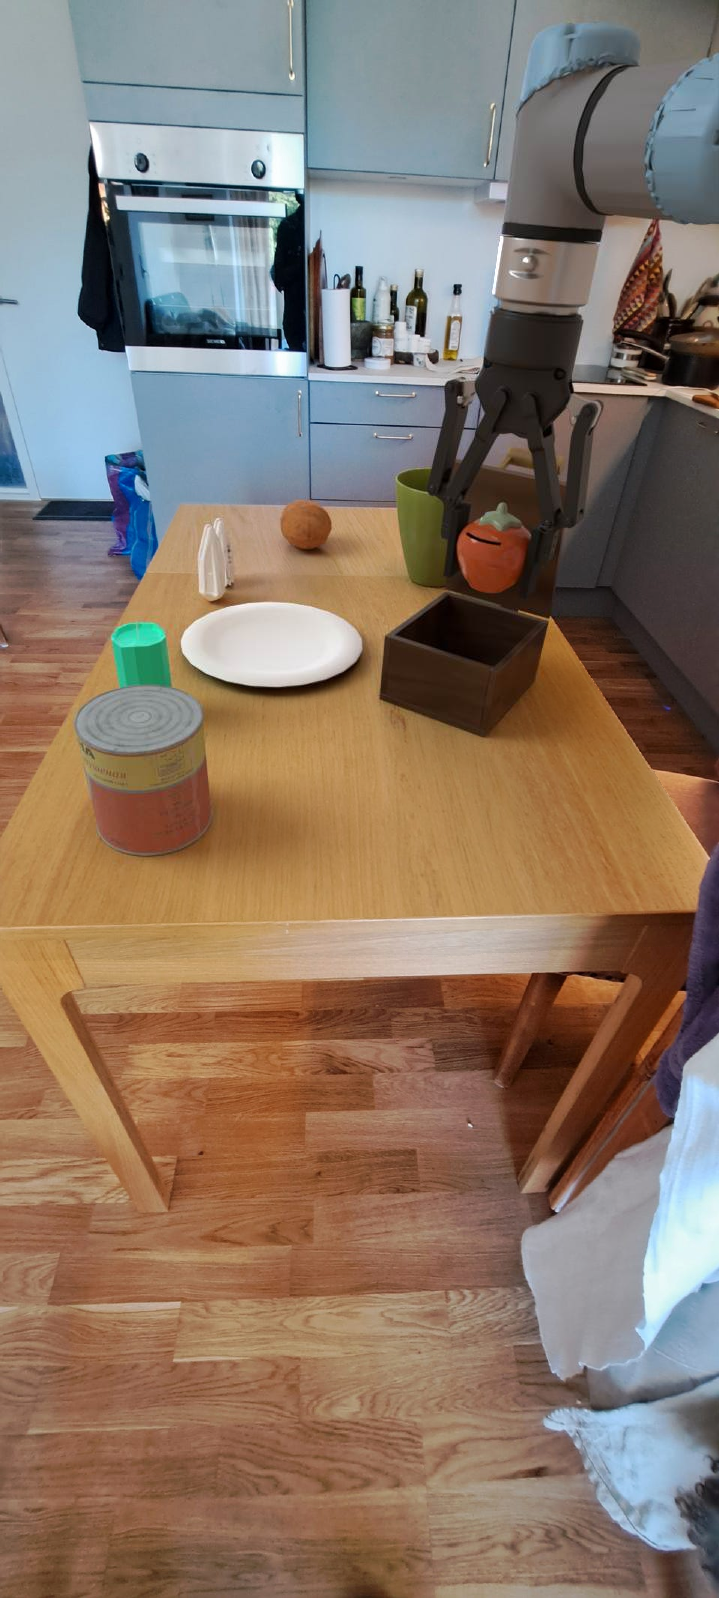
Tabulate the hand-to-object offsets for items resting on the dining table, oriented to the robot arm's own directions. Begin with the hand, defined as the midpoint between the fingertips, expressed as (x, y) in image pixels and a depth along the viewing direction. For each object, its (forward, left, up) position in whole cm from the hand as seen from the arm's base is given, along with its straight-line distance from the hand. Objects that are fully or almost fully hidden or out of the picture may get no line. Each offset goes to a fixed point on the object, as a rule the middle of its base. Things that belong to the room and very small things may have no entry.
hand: (488, 582), depth 73 cm
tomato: (0, 0, 0) cm, 0 cm away
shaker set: (+51, -17, -21) cm, 57 cm away
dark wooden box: (+6, -13, -21) cm, 25 cm away
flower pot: (+26, -44, -21) cm, 55 cm away
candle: (+34, +15, -21) cm, 43 cm away
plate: (+32, -7, -21) cm, 39 cm away
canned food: (+20, +29, -21) cm, 41 cm away
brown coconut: (+51, -43, -21) cm, 70 cm away
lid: (+6, -19, -3) cm, 20 cm away
